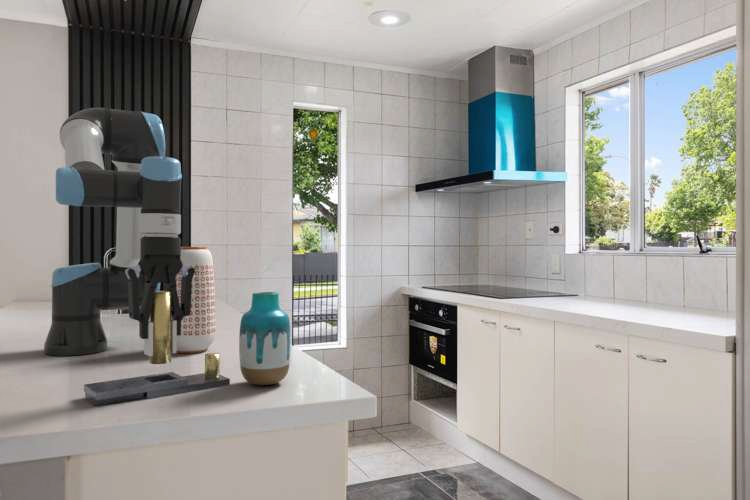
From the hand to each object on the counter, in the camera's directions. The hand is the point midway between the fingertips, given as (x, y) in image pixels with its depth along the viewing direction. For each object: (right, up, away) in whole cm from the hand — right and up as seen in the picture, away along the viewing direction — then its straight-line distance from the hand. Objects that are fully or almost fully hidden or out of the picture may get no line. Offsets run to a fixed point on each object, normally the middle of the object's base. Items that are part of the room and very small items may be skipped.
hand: (160, 353), depth 115 cm
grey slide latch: (0, -7, 0) cm, 7 cm away
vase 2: (+20, -8, +7) cm, 22 cm away
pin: (0, -2, 0) cm, 2 cm away
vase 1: (-8, -7, +43) cm, 44 cm away
